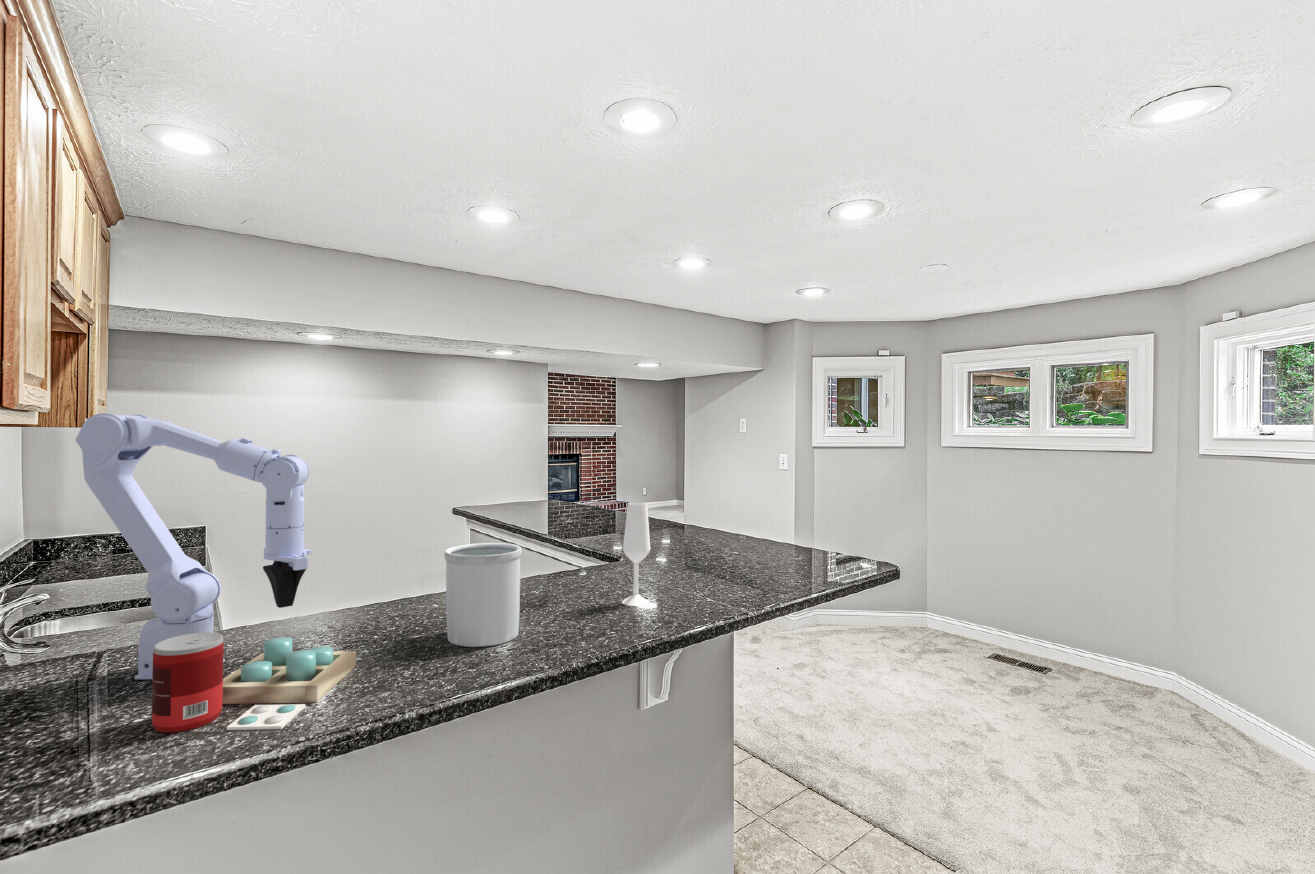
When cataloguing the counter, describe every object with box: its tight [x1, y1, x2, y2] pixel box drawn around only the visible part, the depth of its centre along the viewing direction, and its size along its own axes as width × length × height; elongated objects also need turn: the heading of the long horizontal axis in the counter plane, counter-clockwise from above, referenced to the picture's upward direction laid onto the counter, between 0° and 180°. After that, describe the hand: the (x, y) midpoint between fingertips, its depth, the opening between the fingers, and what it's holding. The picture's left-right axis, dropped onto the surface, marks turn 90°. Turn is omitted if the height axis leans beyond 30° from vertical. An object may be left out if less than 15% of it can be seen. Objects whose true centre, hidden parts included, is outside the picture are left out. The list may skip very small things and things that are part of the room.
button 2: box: [263, 636, 293, 666], centre depth 104 cm, size 4×4×4 cm
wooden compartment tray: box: [222, 650, 357, 705], centre depth 101 cm, size 15×15×2 cm
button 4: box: [308, 646, 334, 666], centre depth 104 cm, size 4×4×4 cm
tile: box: [226, 703, 306, 731], centre depth 89 cm, size 7×7×1 cm
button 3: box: [286, 649, 316, 681], centre depth 98 cm, size 4×4×4 cm
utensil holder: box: [444, 542, 523, 648], centre depth 126 cm, size 15×15×18 cm
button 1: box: [240, 661, 272, 682], centre depth 97 cm, size 4×4×4 cm
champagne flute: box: [621, 502, 651, 607], centre depth 154 cm, size 7×7×24 cm
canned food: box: [151, 632, 225, 734], centre depth 87 cm, size 8×8×11 cm
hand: (284, 606), depth 108 cm, fingers closed
